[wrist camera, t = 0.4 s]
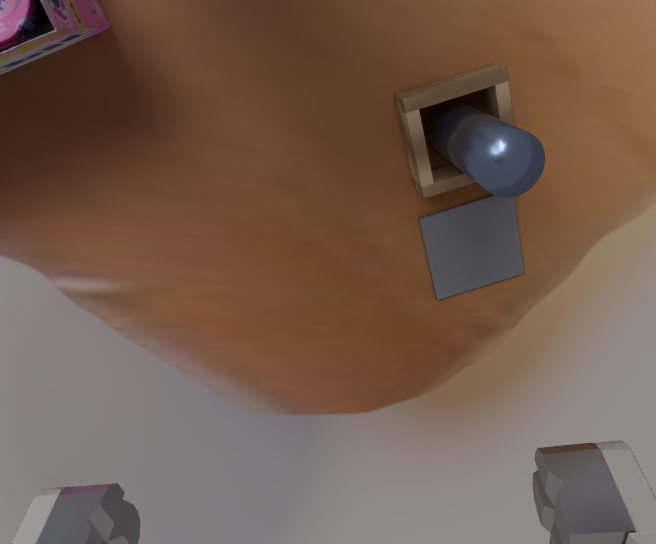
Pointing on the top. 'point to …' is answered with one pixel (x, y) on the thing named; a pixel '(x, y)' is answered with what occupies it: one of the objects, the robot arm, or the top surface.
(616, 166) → the top surface
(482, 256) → the charcoal mat
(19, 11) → the gum box
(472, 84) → the oak collar
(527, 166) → the tall blue steel cylinder
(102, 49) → the top surface
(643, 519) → the robot arm
